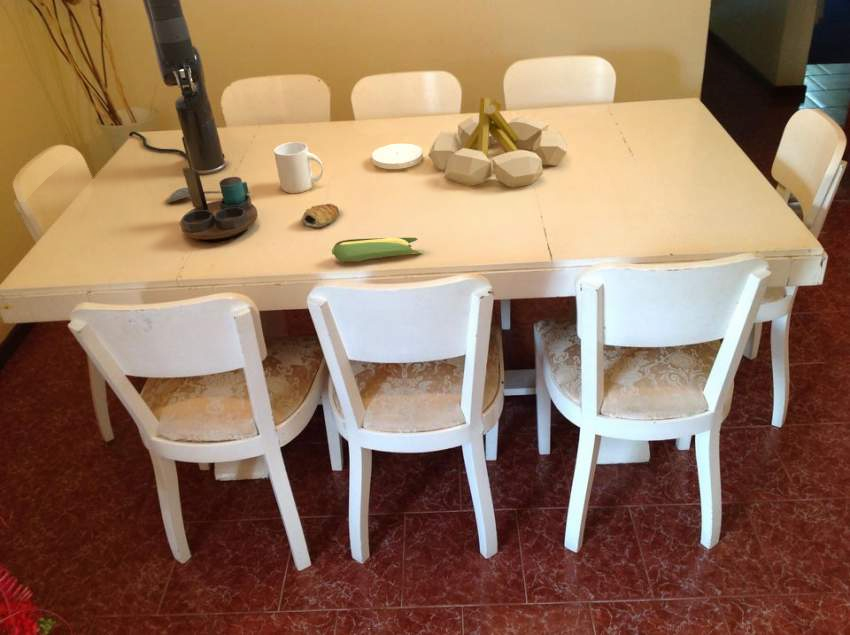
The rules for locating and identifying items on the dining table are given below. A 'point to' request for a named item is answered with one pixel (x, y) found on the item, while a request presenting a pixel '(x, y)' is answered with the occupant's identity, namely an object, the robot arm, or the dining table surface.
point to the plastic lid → (397, 156)
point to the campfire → (511, 136)
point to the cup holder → (217, 209)
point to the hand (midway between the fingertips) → (191, 106)
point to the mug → (295, 167)
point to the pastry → (320, 215)
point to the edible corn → (372, 248)
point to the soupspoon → (185, 193)
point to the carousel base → (224, 237)
